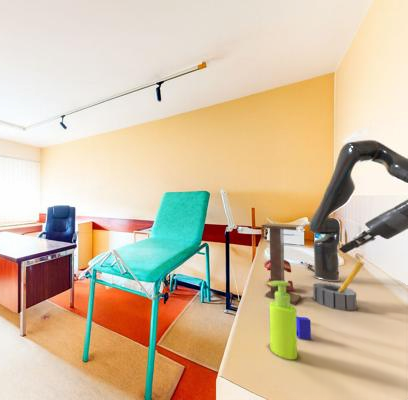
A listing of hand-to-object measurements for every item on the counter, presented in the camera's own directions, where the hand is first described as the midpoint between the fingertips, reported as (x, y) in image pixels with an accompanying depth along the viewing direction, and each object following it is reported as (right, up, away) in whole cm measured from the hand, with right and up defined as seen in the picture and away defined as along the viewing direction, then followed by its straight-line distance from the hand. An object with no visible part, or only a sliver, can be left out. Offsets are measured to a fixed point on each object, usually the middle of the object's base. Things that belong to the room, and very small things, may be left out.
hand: (343, 249), depth 86 cm
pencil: (+1, -14, -1) cm, 14 cm away
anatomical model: (-10, -23, +19) cm, 32 cm away
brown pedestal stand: (-18, -23, +8) cm, 30 cm away
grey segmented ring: (-1, -23, +2) cm, 23 cm away
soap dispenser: (-46, -24, -25) cm, 57 cm away
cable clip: (-34, -23, -14) cm, 43 cm away
